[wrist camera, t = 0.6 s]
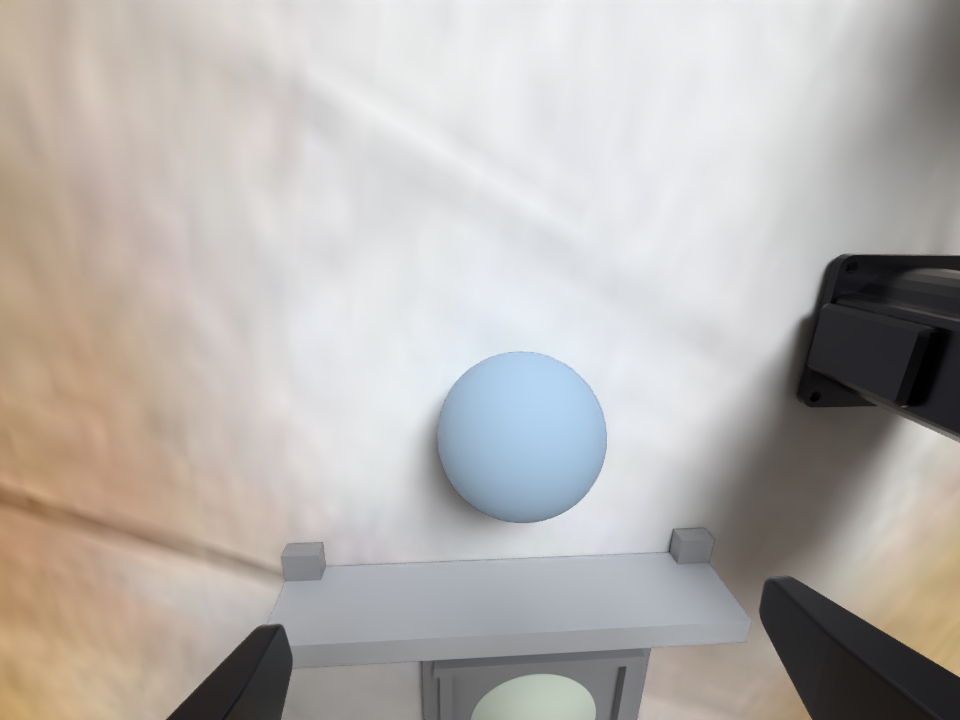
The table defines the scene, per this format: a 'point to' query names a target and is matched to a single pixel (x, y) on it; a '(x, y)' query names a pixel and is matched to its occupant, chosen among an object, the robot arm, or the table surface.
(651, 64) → the table surface
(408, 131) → the table surface
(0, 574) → the table surface
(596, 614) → the long gray bar
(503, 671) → the gray square tray
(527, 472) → the ball
